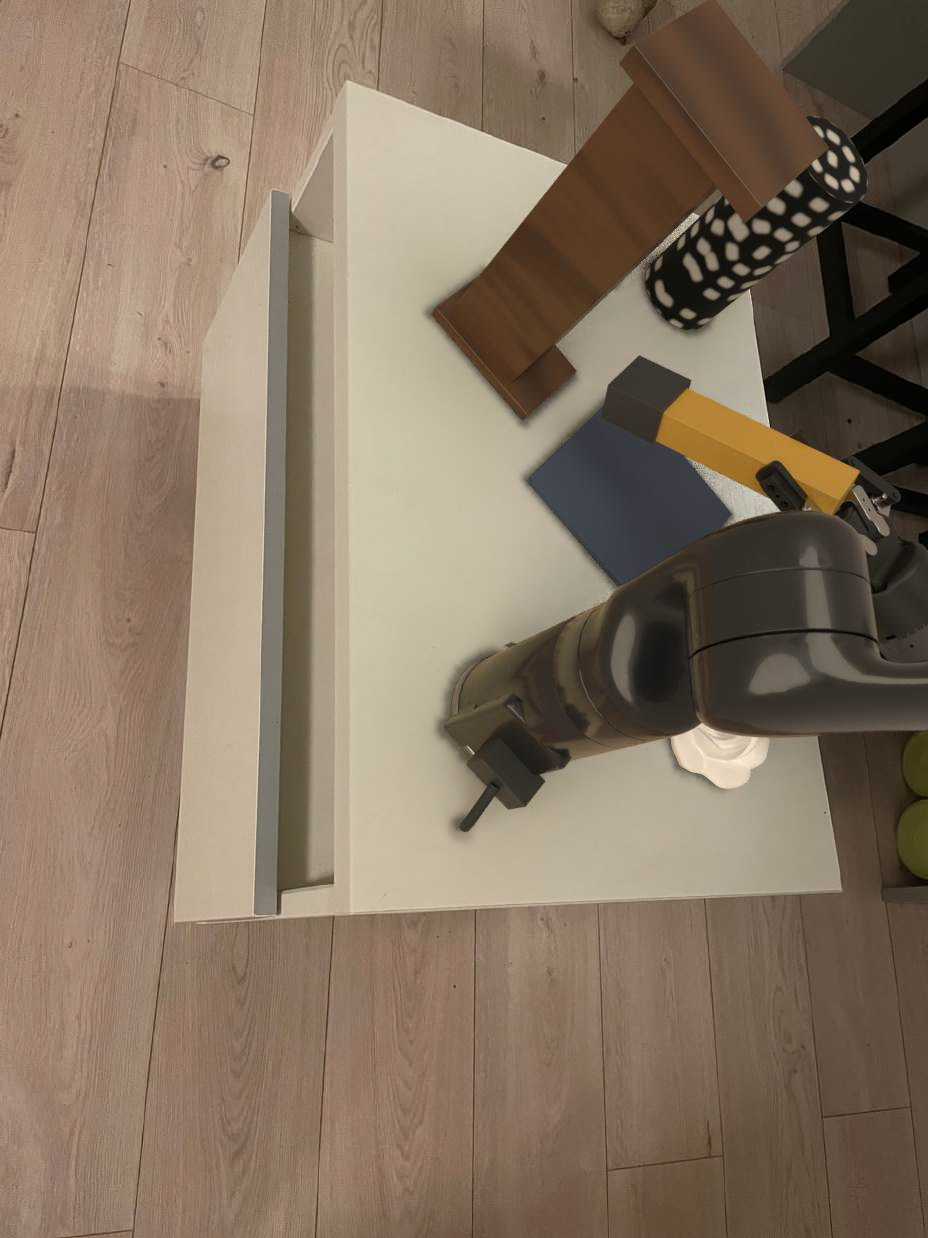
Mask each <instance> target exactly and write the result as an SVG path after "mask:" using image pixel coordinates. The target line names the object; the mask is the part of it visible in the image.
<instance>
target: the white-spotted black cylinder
mask: <svg viewBox="0 0 928 1238" xmlns="http://www.w3.org/2000/svg"><path fill="white" fill-rule="evenodd" d="M805 117H806V118H807V120H808V121H809V122H810V123H811V125H812V126H813V127H814V129H815V130H816V131H817V133H818V134H819V135H820V136H821V138H822V139H823V140H824V142H825V143H826V144H827V146H828V147H829V148H828V149H827V150H826V151H825V152H824V153H823V154H822V155H821V156H819V157H818V158H817V159H816V160H815V161H814V162H813V163H812V164H811V165H810V166H808V167H807V168H806V169H805V170H804V171H803V172H802V173H801V174H800V175H798V176H797V177H796V178H795V179H794V180H793V181H792V182H791V183H790V184H789V185H787V186H786V187H785V188H784V189H783V190H782V191H781V192H780V193H779V194H777V195H776V196H775V197H774V198H773V199H772V200H771V201H770V202H769V203H768V204H766V205H765V206H764V207H763V208H762V209H761V210H760V211H759V212H757V213H756V214H755V215H754V216H753V217H752V218H751V219H750V220H748V221H747V222H746V223H745V222H744V221H743V220H742V219H741V217H740V216H739V215H738V214H737V212H736V211H735V210H734V209H733V207H732V206H731V205H730V203H729V202H728V201H727V200H726V198H725V197H724V196H723V195H722V194H721V196H719V198H718V199H717V200H715V201H714V202H713V203H712V204H711V205H710V206H709V207H708V208H707V209H706V210H705V211H704V212H703V213H702V214H701V215H700V216H699V217H698V218H696V220H694V222H692V224H690V225H689V226H688V227H687V228H686V229H685V230H684V231H683V232H681V234H680V235H679V236H678V237H677V238H675V240H673V241H672V242H671V243H670V244H669V245H668V246H667V247H666V248H665V249H664V250H663V251H662V252H661V253H659V255H658V256H657V257H655V258H654V259H653V260H652V261H651V262H650V263H649V265H648V267H647V268H646V271H645V287H646V291H647V295H648V298H649V299H650V301H651V303H652V305H653V306H654V308H655V309H656V312H658V313H659V315H661V317H662V318H664V319H665V321H667V322H668V323H670V324H672V326H675V327H676V328H679V329H681V330H685V331H696V330H699V329H701V328H702V327H704V326H705V325H706V324H708V323H709V322H710V321H711V320H713V319H714V318H715V317H717V316H718V315H719V314H720V313H721V312H722V311H724V310H725V309H727V308H728V307H729V306H730V305H731V304H732V303H734V302H735V301H737V300H738V299H739V298H740V297H742V296H743V294H745V293H747V292H748V291H749V290H750V289H751V288H753V287H754V286H756V285H757V284H758V283H759V282H760V281H762V280H763V279H764V278H765V277H766V276H768V275H769V274H770V273H771V272H773V271H774V270H776V268H778V267H779V266H780V265H782V264H783V263H784V262H785V261H786V260H788V259H789V258H790V257H792V256H793V255H794V254H796V252H798V251H799V250H801V249H802V248H803V247H804V246H805V245H807V244H808V243H809V242H811V241H812V240H813V239H815V237H817V236H818V235H819V234H821V233H822V232H823V231H824V230H825V229H827V228H828V227H829V226H830V225H832V224H833V223H835V222H836V221H838V219H839V218H840V217H842V216H843V215H845V213H847V212H848V211H849V210H851V209H852V208H853V207H854V206H856V205H857V204H858V203H860V202H861V201H862V200H863V199H864V197H865V196H866V194H867V192H868V187H869V176H868V171H867V168H866V165H865V163H864V160H863V158H862V156H861V153H860V152H859V150H858V149H857V147H856V145H855V143H853V141H852V139H850V137H849V136H848V135H847V134H846V133H845V132H844V131H843V130H842V129H841V128H840V127H839V126H837V125H836V124H835V123H833V122H832V121H830V120H829V119H826V118H824V117H822V116H817V115H807V116H805Z"/></svg>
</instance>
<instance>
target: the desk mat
mask: <svg viewBox="0 0 928 1238" xmlns="http://www.w3.org/2000/svg"><path fill="white" fill-rule="evenodd" d="M602 411H603V406H602V407H601V408H600V409H599V410H598V411H597V412H596V413H595V414H593V416H591V418H590V419H588V421H586V422H585V424H584V425H582V426H581V427H580V428H579V429H578V430H576V432H575V433H574V434H573V435H572V436H571V437H570V438H569V439H568V440H567V441H566V442H565V443H564V444H562V445H561V446H560V447H559V449H557V450H556V451H555V452H554V453H553V454H552V455H551V456H550V457H549V458H548V459H547V460H546V461H545V462H544V463H543V464H542V465H541V466H539V468H537V470H536V471H535V472H533V473H532V474H531V475H530V476H529V477H528V478H527V479H526V481H527V483H528V484H529V485H530V486H531V488H532V489H533V490H534V491H535V492H536V493H537V495H538V496H539V497H540V498H541V499H542V500H543V501H544V502H545V504H546V505H547V506H548V507H549V508H550V510H552V511H553V513H554V514H555V515H556V516H557V518H559V520H560V521H561V522H562V523H563V524H564V525H565V527H566V528H567V529H568V530H569V531H570V532H571V534H572V535H573V536H574V537H575V539H576V540H577V541H578V542H579V543H580V544H581V545H582V547H584V549H585V550H586V551H587V553H589V554H590V555H591V557H592V559H594V560H595V562H597V564H598V565H599V566H600V567H601V568H602V570H603V571H604V572H605V573H606V575H608V577H610V579H611V580H612V582H614V583H615V584H616V586H617V588H618V587H619V586H620V585H622V584H623V583H625V582H626V581H628V580H630V579H631V578H633V577H635V576H637V575H639V574H641V573H642V572H644V571H646V570H647V569H649V568H651V567H652V566H654V565H656V564H657V563H659V562H661V561H662V560H664V559H665V558H667V557H669V556H670V555H672V554H674V553H675V552H677V551H678V550H680V549H682V548H683V547H685V546H687V545H689V544H690V543H692V542H694V541H696V540H698V539H699V538H701V537H703V536H705V535H707V534H709V533H711V532H714V531H716V530H718V529H720V528H723V527H724V525H725V524H726V523H727V521H728V520H729V518H731V516H732V515H733V513H732V511H730V509H729V508H728V507H727V506H726V505H725V503H724V502H723V501H722V500H721V499H720V497H719V496H718V495H717V494H716V492H715V491H714V490H713V489H712V488H711V487H710V485H709V484H708V482H706V481H705V480H704V478H703V477H702V476H701V475H700V473H699V472H698V471H697V470H696V468H695V467H694V466H693V465H692V464H691V463H690V462H689V460H688V459H687V458H686V456H684V455H682V454H680V453H678V452H676V451H675V450H673V449H671V448H669V447H667V446H665V445H663V444H661V443H659V442H657V441H655V442H654V443H653V444H651V443H649V442H648V441H646V440H644V439H642V438H640V437H638V436H636V435H634V434H632V433H630V432H628V431H626V430H624V429H622V428H620V427H618V426H616V425H614V424H612V423H610V422H608V421H606V420H604V419H602V418H601V416H602Z"/></svg>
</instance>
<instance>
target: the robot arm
mask: <svg viewBox="0 0 928 1238" xmlns="http://www.w3.org/2000/svg"><path fill="white" fill-rule="evenodd" d="M787 436H788V437H790V438H792V439H794V440H796V441H799V442H801V443H803V444H805V445H807V446H809V447H811V448H813V449H815V450H817V451H820V452H822V453H824V454H826V455H828V453H827V452H826V451H825V450H824V449H823V447H822V446H821V445H820V444H819V443H818V441H816V439H815V437H814V436H813V435H811V433H809V432H808V431H807V430H806V429H803V428H801V429H800V428H799V429H797V430H796V431H793V432H792V433H791V434H789V435H787ZM839 461H840V462H842V463H845V464H847V465H849V466H851V467H853V468H855V469H857V470H859V471H860V473H859V475H858V476H857V478H856V480H855V482H854V484H853V486H852V488H851V489H850V491H849V493H848V494H847V496H846V498H845V500H844V502H843V503H842V504H841V505H843V504H845V503H847V502H851V504H849V505H847V506H845V507H842V508H840V509H838V510H837V511H836V513H835V514H834V515H830V514H826V513H823V511H822V510H821V509H820V508H819V507H818V506H817V505H815V504H814V503H813V502H811V501H805V499H806V498H807V497H808V495H807V494H806V493H805V492H804V490H803V489H802V488H801V487H800V485H799V484H798V483H797V482H796V481H795V479H794V478H793V477H792V475H791V474H790V473H789V471H788V470H787V469H786V468H785V467H784V465H783V464H782V463H781V462H780V461H777V460H775V461H772V462H770V463H769V464H767V465H765V466H764V467H762V468H760V470H759V471H758V472H757V473H756V475H755V477H756V479H757V481H758V482H759V484H760V486H761V488H762V490H763V491H764V492H765V493H766V494H767V496H768V497H769V498H770V499H769V498H768V499H769V500H770V501H771V502H772V503H773V504H774V505H775V507H776V508H777V509H778V510H779V511H774V512H769V513H764V514H761V515H756V516H752V517H748V518H744V519H741V520H738V521H735V522H732V523H730V524H727V525H725V526H722V527H721V528H720V529H718V530H716V531H714V532H711V533H709V534H707V535H705V536H703V537H701V538H699V539H698V540H696V541H694V542H692V543H690V544H689V545H687V546H685V547H683V548H682V549H680V550H678V551H677V552H675V553H674V554H672V555H670V556H669V557H667V558H665V559H664V560H662V561H661V562H659V563H657V564H656V565H654V566H652V567H651V568H649V569H647V570H646V571H644V572H642V573H641V574H639V575H637V576H635V577H633V578H631V579H630V580H628V581H626V582H625V583H623V584H622V585H620V586H619V587H618V586H617V588H616V589H615V590H614V591H613V592H612V593H611V594H610V595H609V597H608V598H607V600H605V601H603V602H601V603H599V604H597V605H595V606H592V607H591V608H588V609H586V610H584V611H582V612H580V613H578V614H576V615H574V616H572V617H569V618H568V619H566V620H563V621H561V622H558V623H557V624H555V625H553V626H551V627H548V628H546V629H544V630H542V631H540V632H538V633H536V634H534V635H531V636H530V637H528V638H526V639H524V640H521V641H520V642H518V643H516V642H512V641H510V642H508V643H506V644H503V647H506V648H505V649H503V650H501V651H499V652H497V653H495V654H492V655H489V656H486V657H484V658H482V659H480V660H477V661H476V662H474V663H473V664H471V665H470V666H469V667H467V669H466V670H464V672H463V673H462V674H461V676H460V677H459V679H458V681H457V682H456V685H455V687H454V690H453V693H452V698H451V704H450V714H451V715H450V716H449V718H448V719H447V721H446V722H445V723H444V725H443V728H444V730H445V731H446V733H448V735H450V736H451V738H452V739H453V740H454V742H456V743H457V745H458V746H460V747H461V749H462V750H463V751H464V753H465V755H467V756H468V758H469V760H467V762H466V763H465V765H466V766H467V767H468V769H470V770H471V772H473V773H474V775H476V777H477V778H478V779H479V780H480V781H481V782H482V784H483V785H484V786H485V787H486V788H485V789H484V790H483V792H482V793H481V795H480V796H479V797H478V799H477V801H475V803H474V805H473V806H472V808H471V809H470V810H469V811H468V813H467V815H466V816H465V817H464V819H463V820H462V821H461V822H460V824H459V829H460V831H461V832H463V833H468V832H470V830H471V829H472V828H473V827H475V825H476V823H477V822H478V820H479V819H480V817H481V816H482V815H483V814H484V812H485V811H486V810H487V808H488V807H489V806H490V804H491V802H492V801H493V800H494V798H496V799H498V801H499V802H500V803H501V804H502V805H503V806H504V807H505V809H506V810H508V811H510V810H516V809H521V808H526V807H527V806H528V804H529V803H530V802H531V800H532V799H533V798H534V797H535V795H536V794H537V793H538V792H539V791H540V790H541V788H542V787H543V785H544V784H545V783H546V780H545V779H544V777H542V775H544V774H548V773H553V772H558V771H562V770H563V769H565V768H566V767H567V766H568V764H569V763H570V762H573V761H577V760H582V759H585V758H589V757H593V756H597V755H601V754H605V753H609V752H614V751H618V750H622V749H626V748H630V747H635V746H639V745H644V744H648V743H651V742H656V741H660V740H661V741H662V740H664V739H665V740H666V739H669V738H671V737H673V736H677V735H680V734H683V733H686V732H689V731H690V730H692V729H694V728H696V727H697V726H699V725H700V724H701V723H703V724H704V725H705V726H707V727H709V728H711V729H713V730H715V731H718V732H722V733H726V734H731V735H737V736H745V737H758V738H770V739H785V738H788V739H789V738H811V737H812V738H813V737H815V738H816V737H836V736H851V735H867V734H884V733H901V732H917V731H919V732H920V731H928V549H927V548H926V546H925V545H923V544H922V543H919V542H914V541H909V540H905V539H903V538H902V537H901V536H900V535H899V533H898V530H897V528H896V526H895V523H894V522H893V520H892V519H891V518H890V511H891V506H892V505H894V504H895V505H896V503H900V501H901V499H902V495H901V493H900V491H899V490H898V489H897V488H896V487H894V486H893V485H892V484H890V483H889V482H888V481H887V480H885V479H884V478H883V477H881V476H880V475H879V474H877V472H875V471H874V470H873V469H871V468H870V467H868V466H867V465H866V464H865V463H863V462H862V461H861V460H859V459H858V458H857V457H856V456H853V455H849V456H847V457H846V458H843V459H841V460H839ZM882 656H883V657H882Z"/></svg>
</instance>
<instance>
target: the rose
mask: <svg viewBox="0 0 928 1238" xmlns="http://www.w3.org/2000/svg"><path fill="white" fill-rule="evenodd" d="M770 743H771V738H758V737H745V736H737V735H731V734H726V733H722V732H718V731H715V730H713V729H711V728H709V727H707V726H705V725H704V724H703V723H701V724H700V725H699V726H697V727H696V728H694V729H692V730H690V731H689V732H686V733H683V734H680V735H677V736H673V737H670V745H671V749H672V752H673V753H674V755H675V758H676V760H677V763H678V765H679V766H680V767H681V768H683V769H685V770H687V771H689V772H690V773H692V774H693V773H694V774H699V775H702V776H704V777H705V778H706V779H708V780H709V781H710V782H711V783H712V784H713V785H715V786H716V787H717V788H720V789H725V790H733V789H736V788H739V787H742V786H744V785H745V784H746V783H747V782H749V780H750V779H751V776H752V769H755V768H757V767H760V766H761V765H763V763H764V762H765V761H766V759H767V756H768V754H769V747H770Z"/></svg>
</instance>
